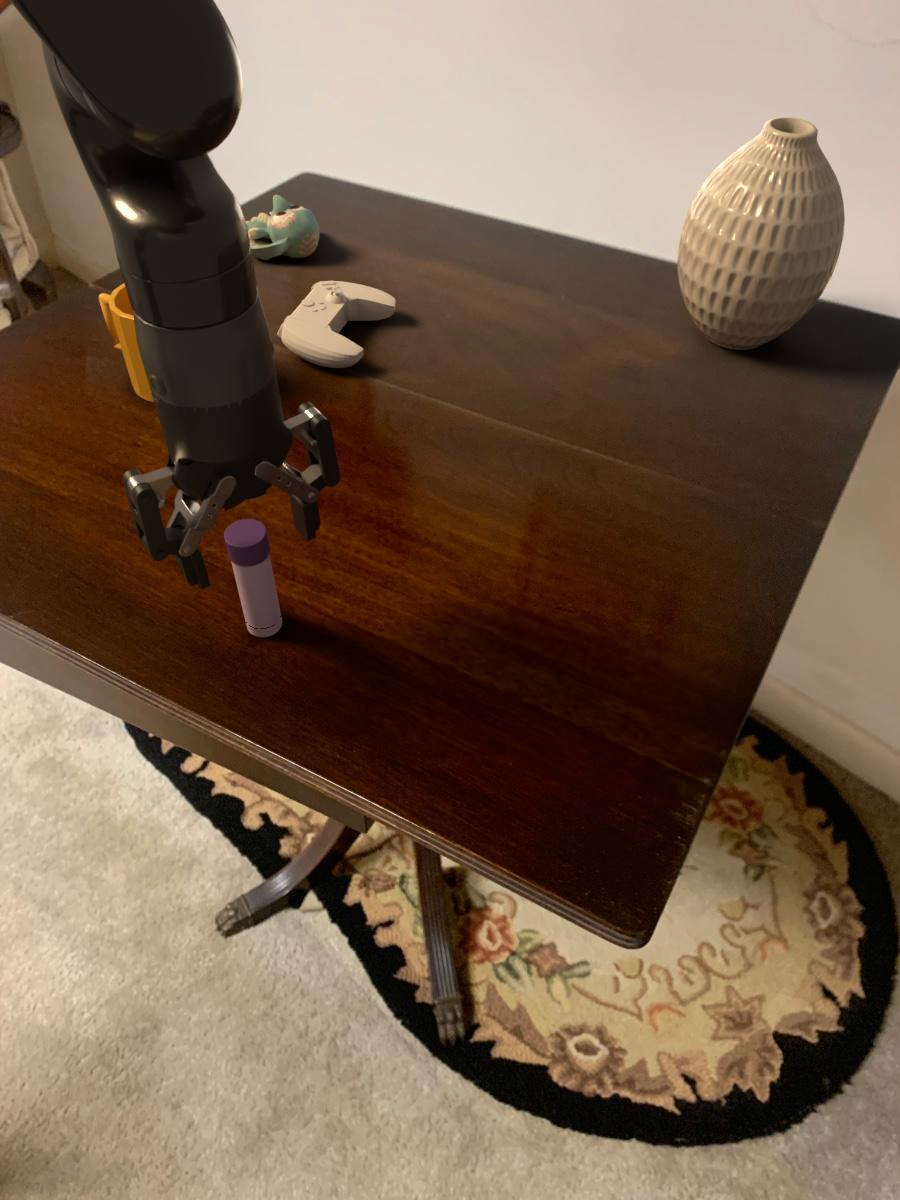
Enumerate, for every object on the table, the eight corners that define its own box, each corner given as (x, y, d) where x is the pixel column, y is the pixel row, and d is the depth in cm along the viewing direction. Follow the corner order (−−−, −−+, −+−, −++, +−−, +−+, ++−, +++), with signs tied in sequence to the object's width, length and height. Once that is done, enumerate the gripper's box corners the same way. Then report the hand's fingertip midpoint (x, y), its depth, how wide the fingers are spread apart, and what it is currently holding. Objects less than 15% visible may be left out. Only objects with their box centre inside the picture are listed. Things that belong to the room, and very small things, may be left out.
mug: (234, 369, 95) (219, 286, 88) (185, 413, 89) (164, 328, 82) (145, 342, 98) (123, 260, 91) (92, 383, 92) (64, 299, 85)
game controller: (357, 355, 91) (267, 320, 91) (351, 389, 94) (265, 355, 95) (403, 289, 100) (322, 257, 101) (397, 322, 104) (318, 291, 104)
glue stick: (244, 639, 69) (222, 548, 62) (246, 611, 71) (225, 519, 64) (282, 637, 70) (265, 546, 62) (284, 609, 72) (267, 517, 64)
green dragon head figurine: (270, 177, 115) (335, 184, 108) (284, 233, 120) (347, 243, 113) (206, 204, 109) (270, 213, 103) (224, 262, 114) (286, 274, 107)
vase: (637, 309, 104) (676, 104, 88) (758, 290, 108) (816, 89, 92) (704, 384, 94) (762, 168, 78) (835, 360, 98) (917, 148, 81)
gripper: (287, 304, 58) (314, 493, 70) (72, 375, 52) (142, 566, 64) (345, 357, 54) (363, 548, 66) (119, 440, 48) (184, 631, 60)
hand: (254, 557), depth 65 cm, fingers open, 8 cm apart
